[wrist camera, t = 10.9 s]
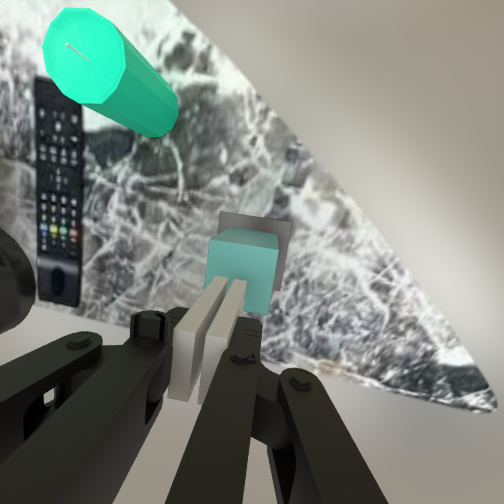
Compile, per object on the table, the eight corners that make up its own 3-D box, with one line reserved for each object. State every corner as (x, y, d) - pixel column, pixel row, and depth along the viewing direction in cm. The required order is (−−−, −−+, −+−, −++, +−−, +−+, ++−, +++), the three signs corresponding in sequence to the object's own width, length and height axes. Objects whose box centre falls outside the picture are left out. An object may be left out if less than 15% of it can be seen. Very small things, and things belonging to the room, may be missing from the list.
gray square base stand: (213, 278, 32) (185, 313, 22) (221, 211, 30) (195, 216, 20) (279, 289, 31) (282, 330, 21) (291, 222, 30) (300, 232, 20)
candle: (117, 88, 28) (6, 9, 17) (168, 69, 28) (90, -28, 16) (136, 145, 29) (44, 108, 18) (186, 128, 29) (125, 77, 17)
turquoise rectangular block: (224, 271, 30) (202, 304, 21) (230, 226, 29) (209, 239, 20) (269, 279, 30) (267, 315, 21) (277, 234, 29) (278, 250, 20)
